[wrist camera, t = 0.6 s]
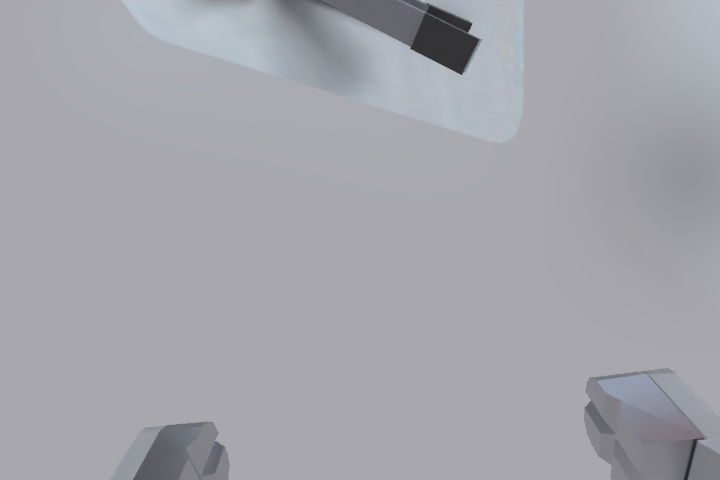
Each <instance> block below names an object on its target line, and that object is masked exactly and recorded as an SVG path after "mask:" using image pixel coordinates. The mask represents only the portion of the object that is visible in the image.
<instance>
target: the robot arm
mask: <svg viewBox="0 0 720 480" xmlns="http://www.w3.org/2000/svg"><path fill="white" fill-rule="evenodd" d="M586 393H587V394H588V396H589V397H590V399H591V401H590V403H589V404H588V405H587V406H586V407H585V412H584V421H585V425H586V430H587V434H588V436H589V439H590V441H591V444H592V445H593V447H594V449H595V451H596V452H597V454H598V456H599V457H601V458H602V459H604V460H605V461H607V462H608V463H609V464H611V465H612V470H611V479H612V480H720V417H719V416H718V415H717V414H716V413H715V412H714V411H713V410H712V409H711V408H710V407H709V406H708V405H707V404H706V403H705V402H704V401H703V400H702V399H701V398H700V397H699V396H698V395H697V394H696V393H695V392H694V391H693V390H692V389H691V388H690V387H689V386H688V385H687V384H686V383H685V382H684V381H683V380H682V379H681V378H680V377H679V376H678V375H677V374H676V373H675V372H674V371H672V370H670V369H668V368H665V369H657V370H649V371H641V372H632V373H624V374H616V375H608V376H601V377H592V378H589V380H588V382H587V387H586ZM217 434H218V431H217V429H216V427H215V425H214V424H213V422H200V423H188V424H176V425H166V426H157V427H146V428H144V429H143V430H142V431H141V432H139V433H138V435H137V436H136V438H135V440H134V441H133V443H132V444H131V446H130V448H129V449H128V451H127V453H126V454H125V456H124V458H123V459H122V461H121V463H120V464H119V466H118V467H117V469H116V471H115V472H114V474H113V476H112V477H111V479H110V480H228V473H229V460H228V454H227V452H226V449H225V447H224V446H223V445H221V444H220V443H218V442H217V441H215V440H216V437H217Z"/></svg>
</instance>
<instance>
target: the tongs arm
mask: <svg viewBox="0 0 720 480" xmlns="http://www.w3.org/2000/svg"><path fill="white" fill-rule="evenodd" d="M321 1H323V2H325V3H327V4H329V5H331V6H333V7H334V8H336V9H338V10H340V11H342V12H344V13H346V14H348V15H350V16H352V17H354V18H356V19H358V20H360V21H362V22H364V23H366V24H368V25H370V26H372V27H374V28H376V29H378V30H379V31H381V32H383V33H385V34H387V35H389V36H391V37H393V38H395V39H397V40H399V41H401V42H403V43H405V44H407V45H409V46H411V48H410V49H412V50H414V51H416V52H418V53H420V54H422V55H424V56H426V57H428V58H430V59H432V60H434V61H435V62H437V63H439V64H441V65H443V66H445V67H447V68H449V69H451V70H453V71H455V72H457V73H459V74H461V75H462V74H463V73H464V72H466V70H467V68H468V66H469V64H470V62H471V60H472V58H473V56H474V54H475V52H476V50H477V48H478V47H479V45H480V43H481V41H482V40H481V39H479V38H477V37H475V36H473V35H471V34H469V33H467V32H465V31H463V30H461V29H459V28H457V27H455V26H453V25H451V24H449V23H447V22H444V21H442V20H440V19H438V18H436V17H434V16H432V15H430V14H428V13H426V12H424V11H422V10H420V9H418V8H416V7H414V6H412V5H410V4H408V3H406V2H404V1H402V0H321Z"/></svg>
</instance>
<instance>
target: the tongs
mask: <svg viewBox="0 0 720 480" xmlns="http://www.w3.org/2000/svg"><path fill="white" fill-rule="evenodd" d="M402 1H404V2H406V3H408V4H410V5H412V6H414V7H416V8H418V9H420V10H422V11H424V12H426V13H428V14H430V15H432V16H434V17H436V18H438V19H440V20H442V21H444V22H447V23H449V24H451V25H453V26H455V27H457V28H459V29H461V30H463V31H465V32H467V33H468V32H469V30H470V28H471V26H472V23H471V22H470V21H468V20H465V19H463V18H461V17H458V16H456V15H454V14H452V13H449V12H447V11H445V10H442V9H440V8H438V7H436V6H433V5H431V4H429V3H427V4H426V3H424V2H421V1H419V0H402Z"/></svg>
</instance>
